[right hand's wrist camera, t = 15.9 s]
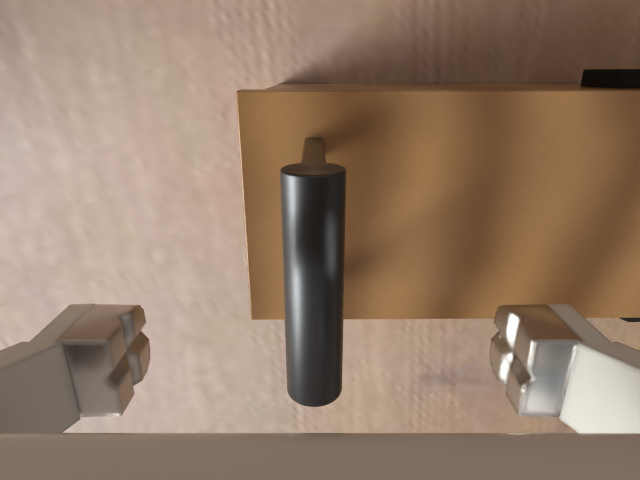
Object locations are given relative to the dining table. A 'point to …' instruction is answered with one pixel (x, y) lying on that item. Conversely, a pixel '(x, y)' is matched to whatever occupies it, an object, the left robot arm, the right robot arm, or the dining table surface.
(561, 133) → the lid
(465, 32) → the dining table surface
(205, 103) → the dining table surface
